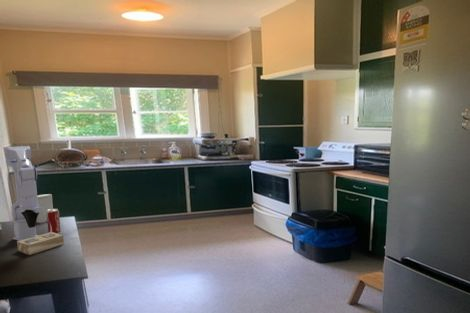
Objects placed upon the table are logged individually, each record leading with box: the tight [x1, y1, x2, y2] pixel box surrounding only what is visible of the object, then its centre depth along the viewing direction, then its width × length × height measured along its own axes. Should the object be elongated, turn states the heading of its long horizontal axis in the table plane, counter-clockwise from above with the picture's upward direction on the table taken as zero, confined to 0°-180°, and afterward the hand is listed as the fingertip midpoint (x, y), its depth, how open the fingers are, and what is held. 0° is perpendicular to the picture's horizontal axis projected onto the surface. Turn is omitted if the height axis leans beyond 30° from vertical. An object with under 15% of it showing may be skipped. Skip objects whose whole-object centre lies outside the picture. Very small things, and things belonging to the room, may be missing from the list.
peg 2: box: [43, 234, 55, 238], centre depth 138 cm, size 4×4×4 cm
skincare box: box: [36, 193, 54, 224], centre depth 177 cm, size 8×6×15 cm
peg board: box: [16, 232, 65, 256], centre depth 135 cm, size 10×14×4 cm
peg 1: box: [25, 238, 38, 243], centre depth 132 cm, size 4×4×4 cm
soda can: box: [46, 208, 61, 234], centre depth 153 cm, size 5×5×12 cm
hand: (32, 227), depth 133 cm, fingers closed
